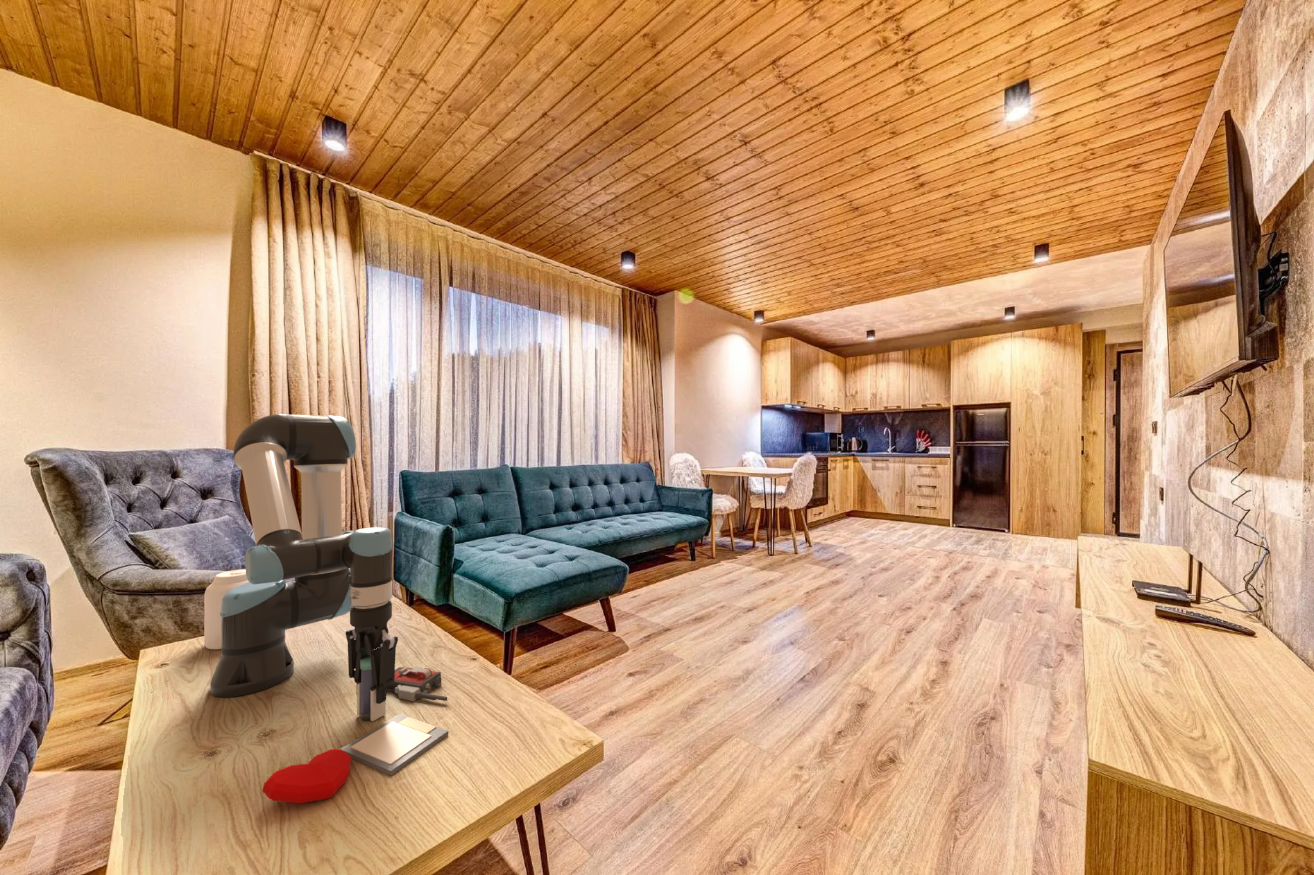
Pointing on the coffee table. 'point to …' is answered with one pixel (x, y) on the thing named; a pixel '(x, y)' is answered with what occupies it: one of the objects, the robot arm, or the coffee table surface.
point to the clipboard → (394, 743)
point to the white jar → (218, 604)
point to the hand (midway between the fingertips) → (371, 714)
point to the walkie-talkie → (415, 683)
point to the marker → (366, 688)
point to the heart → (310, 778)
